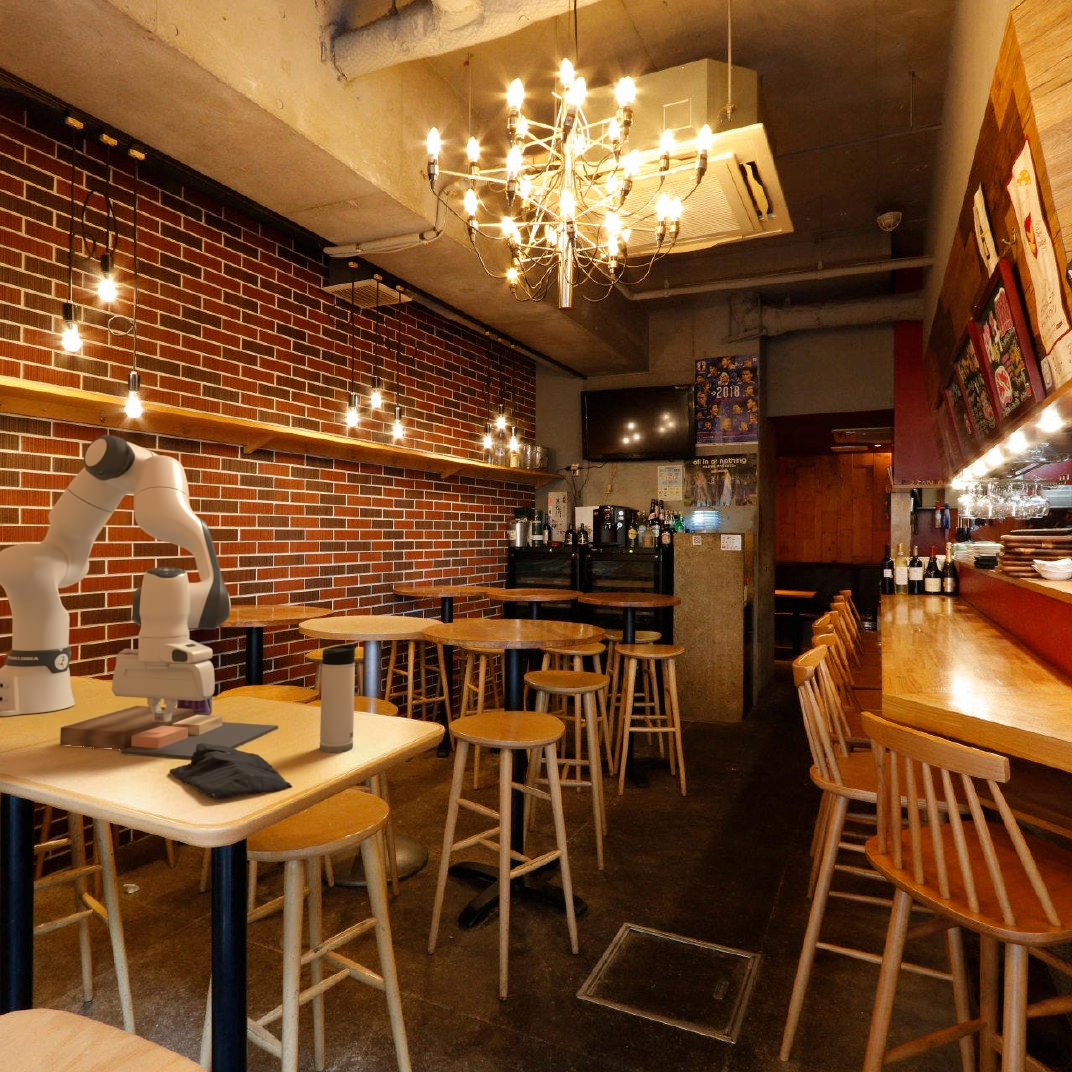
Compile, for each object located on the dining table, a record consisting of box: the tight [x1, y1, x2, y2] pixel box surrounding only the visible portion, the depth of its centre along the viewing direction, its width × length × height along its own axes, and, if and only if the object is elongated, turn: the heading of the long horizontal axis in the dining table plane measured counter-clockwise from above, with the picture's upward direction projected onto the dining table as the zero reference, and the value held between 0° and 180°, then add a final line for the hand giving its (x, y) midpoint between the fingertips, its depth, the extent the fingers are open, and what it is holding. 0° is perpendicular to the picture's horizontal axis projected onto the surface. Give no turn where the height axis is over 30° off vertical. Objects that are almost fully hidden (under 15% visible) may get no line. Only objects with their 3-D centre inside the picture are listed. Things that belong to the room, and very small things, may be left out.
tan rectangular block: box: [172, 715, 223, 735], centre depth 148 cm, size 6×8×2 cm
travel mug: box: [319, 643, 357, 753], centre depth 138 cm, size 6×7×20 cm
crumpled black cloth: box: [169, 743, 293, 799], centre depth 118 cm, size 15×22×5 cm
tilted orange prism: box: [131, 726, 188, 748], centre depth 138 cm, size 6×8×2 cm
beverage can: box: [176, 695, 213, 716], centre depth 160 cm, size 7×7×12 cm
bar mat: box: [120, 721, 279, 760], centre depth 142 cm, size 18×24×1 cm
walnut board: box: [59, 705, 193, 751], centre depth 145 cm, size 14×20×4 cm
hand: (161, 721), depth 138 cm, fingers closed
